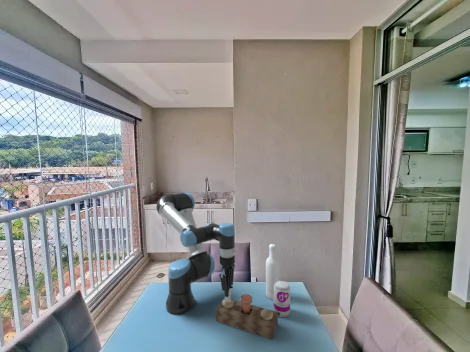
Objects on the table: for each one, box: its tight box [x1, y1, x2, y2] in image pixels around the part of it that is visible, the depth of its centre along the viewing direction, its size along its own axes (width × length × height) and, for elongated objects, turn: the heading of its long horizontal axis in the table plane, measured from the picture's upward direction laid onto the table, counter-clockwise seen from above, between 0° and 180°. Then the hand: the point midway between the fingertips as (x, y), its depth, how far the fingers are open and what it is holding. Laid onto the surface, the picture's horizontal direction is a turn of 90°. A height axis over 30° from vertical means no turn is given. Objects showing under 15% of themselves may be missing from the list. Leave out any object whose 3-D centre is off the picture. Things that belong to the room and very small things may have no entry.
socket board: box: [215, 299, 279, 340], centre depth 105 cm, size 28×10×6 cm, turn 66°
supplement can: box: [273, 279, 291, 318], centre depth 112 cm, size 8×8×15 cm
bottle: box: [265, 243, 280, 301], centre depth 125 cm, size 8×8×30 cm
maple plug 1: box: [222, 298, 234, 309], centre depth 109 cm, size 6×6×7 cm
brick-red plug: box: [240, 293, 253, 314], centre depth 105 cm, size 6×6×7 cm
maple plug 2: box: [261, 308, 273, 321], centre depth 101 cm, size 6×6×7 cm
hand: (228, 301), depth 109 cm, fingers closed
